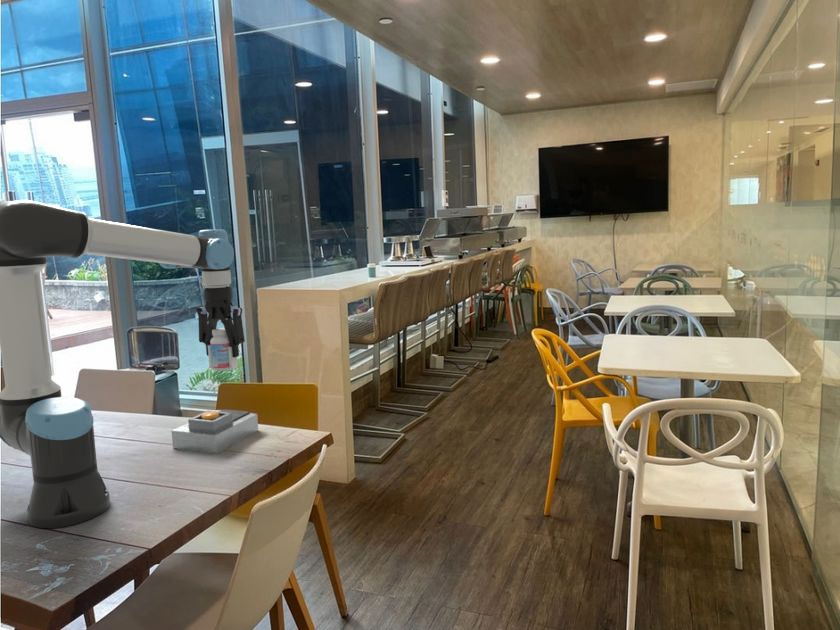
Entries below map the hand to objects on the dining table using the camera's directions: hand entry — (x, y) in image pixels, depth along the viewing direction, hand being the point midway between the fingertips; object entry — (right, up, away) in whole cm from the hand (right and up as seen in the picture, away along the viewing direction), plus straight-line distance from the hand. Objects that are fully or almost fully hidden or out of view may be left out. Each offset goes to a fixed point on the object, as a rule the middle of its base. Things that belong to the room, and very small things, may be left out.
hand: (223, 367), depth 173 cm
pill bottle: (0, 0, 0) cm, 1 cm away
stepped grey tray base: (-1, -20, -1) cm, 20 cm away
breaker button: (-1, -20, -6) cm, 20 cm away
